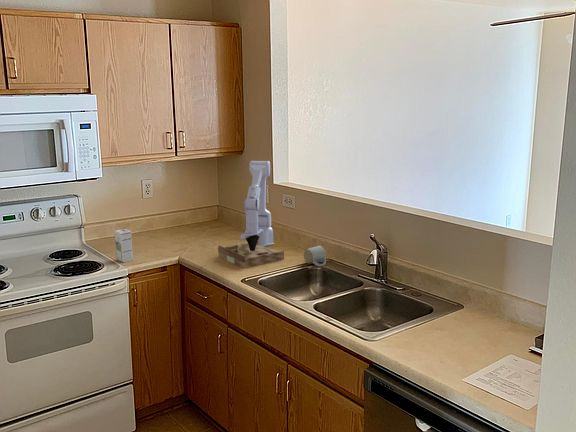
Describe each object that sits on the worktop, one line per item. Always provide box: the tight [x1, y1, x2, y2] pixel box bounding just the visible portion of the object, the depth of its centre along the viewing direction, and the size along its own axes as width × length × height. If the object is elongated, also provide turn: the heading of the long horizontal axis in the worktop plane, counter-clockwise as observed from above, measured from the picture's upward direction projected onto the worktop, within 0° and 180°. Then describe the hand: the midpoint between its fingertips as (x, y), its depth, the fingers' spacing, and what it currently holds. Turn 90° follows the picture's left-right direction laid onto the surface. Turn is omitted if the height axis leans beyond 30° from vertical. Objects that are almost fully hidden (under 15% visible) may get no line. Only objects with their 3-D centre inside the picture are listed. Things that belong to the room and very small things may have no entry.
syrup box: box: [114, 228, 134, 263], centre depth 269 cm, size 6×6×14 cm
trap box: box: [217, 241, 285, 269], centre depth 274 cm, size 23×22×6 cm
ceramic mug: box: [303, 245, 327, 267], centre depth 266 cm, size 11×8×8 cm
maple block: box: [236, 241, 249, 255], centre depth 273 cm, size 4×4×4 cm
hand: (252, 250), depth 275 cm, fingers closed
